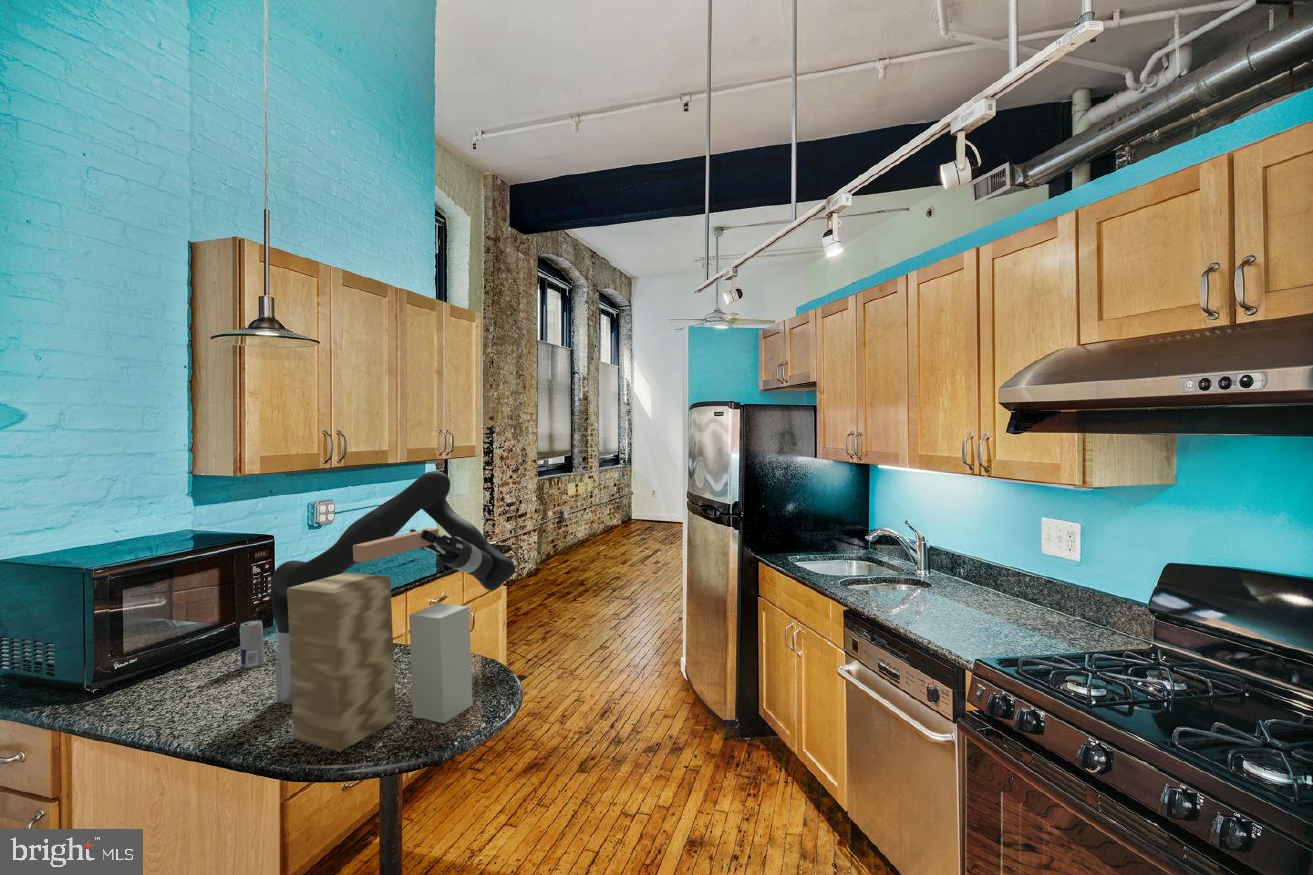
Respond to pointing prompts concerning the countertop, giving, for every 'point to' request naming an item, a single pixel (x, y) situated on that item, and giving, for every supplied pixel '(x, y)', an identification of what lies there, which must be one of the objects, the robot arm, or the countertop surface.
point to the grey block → (440, 662)
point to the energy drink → (251, 644)
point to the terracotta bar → (390, 545)
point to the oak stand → (341, 659)
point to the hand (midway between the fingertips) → (416, 533)
